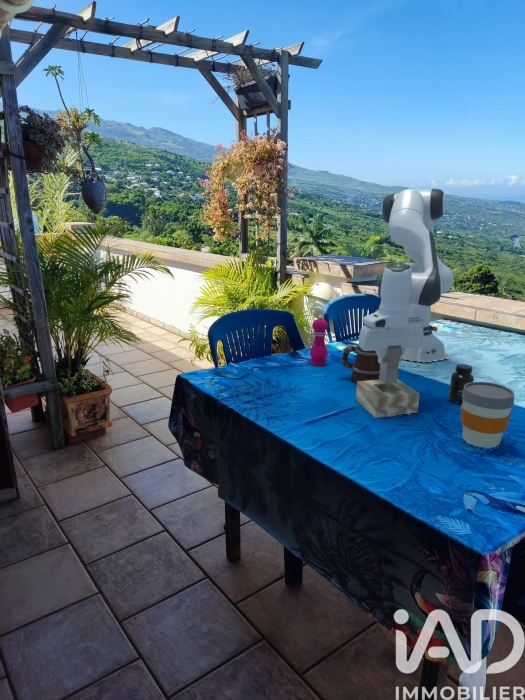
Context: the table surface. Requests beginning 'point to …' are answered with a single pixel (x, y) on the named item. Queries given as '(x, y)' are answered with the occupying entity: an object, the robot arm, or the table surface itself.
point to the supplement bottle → (460, 382)
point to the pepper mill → (319, 342)
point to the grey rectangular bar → (390, 365)
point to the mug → (362, 364)
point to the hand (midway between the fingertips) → (389, 362)
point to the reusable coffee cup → (485, 413)
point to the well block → (387, 398)
